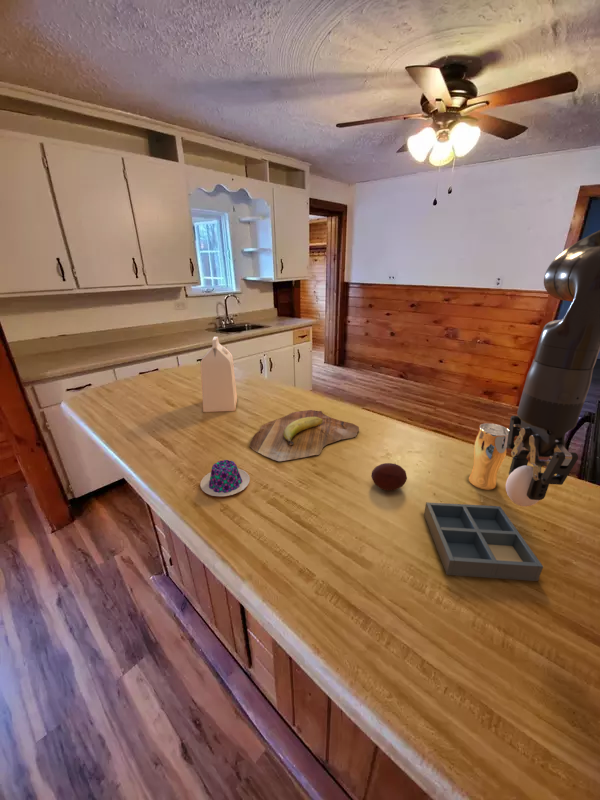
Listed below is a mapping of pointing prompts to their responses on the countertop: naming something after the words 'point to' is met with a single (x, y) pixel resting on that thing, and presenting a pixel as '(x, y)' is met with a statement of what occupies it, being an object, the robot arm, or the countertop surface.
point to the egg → (520, 486)
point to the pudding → (224, 479)
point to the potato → (389, 476)
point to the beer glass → (488, 455)
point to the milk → (218, 379)
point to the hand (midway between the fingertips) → (524, 486)
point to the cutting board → (300, 435)
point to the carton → (480, 542)
